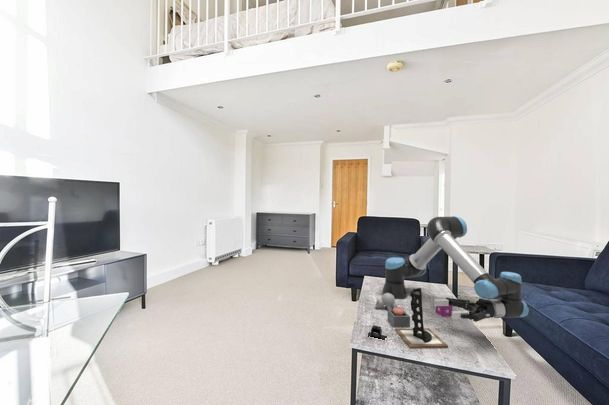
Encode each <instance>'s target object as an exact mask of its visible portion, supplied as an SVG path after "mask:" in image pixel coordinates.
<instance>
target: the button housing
mask: <svg viewBox="0 0 609 405" xmlns="http://www.w3.org/2000/svg"><path fill="white" fill-rule="evenodd" d="M387 321H388V322H389V324H390V325H391V326H392V327H393V328H411V316H410V315H409V314H408V313H407V312H406V311H405V310H404V316H395V315H394V314H393V309H392V310H388V309H387Z"/></svg>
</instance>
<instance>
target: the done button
mask: <svg viewBox="0 0 609 405" xmlns="http://www.w3.org/2000/svg"><path fill="white" fill-rule="evenodd" d="M392 310H393V314H394V315H395V316H404V311H405V310H404V308H403V307H394V308H393V307H392Z"/></svg>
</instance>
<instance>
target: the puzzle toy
mask: <svg viewBox="0 0 609 405" xmlns="http://www.w3.org/2000/svg"><path fill="white" fill-rule="evenodd" d="M452 312H453V306H450V305H449V306H435V313H436V314H437V315H439V316H441V317H442V318H443V317H452Z"/></svg>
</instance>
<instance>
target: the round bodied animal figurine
mask: <svg viewBox="0 0 609 405" xmlns="http://www.w3.org/2000/svg"><path fill="white" fill-rule="evenodd" d="M373 305H374V306H375V308H376V309H377V310H378V309H380V308H381V307H383V306H386V309H387V311H388V310H393V308H394V307H398V304H397V303H396V299H395V298H394V296H393V295H392V294H390V293H385V294H382V296H381V298H378V297H376V303H375V302H374V303H373Z"/></svg>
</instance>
